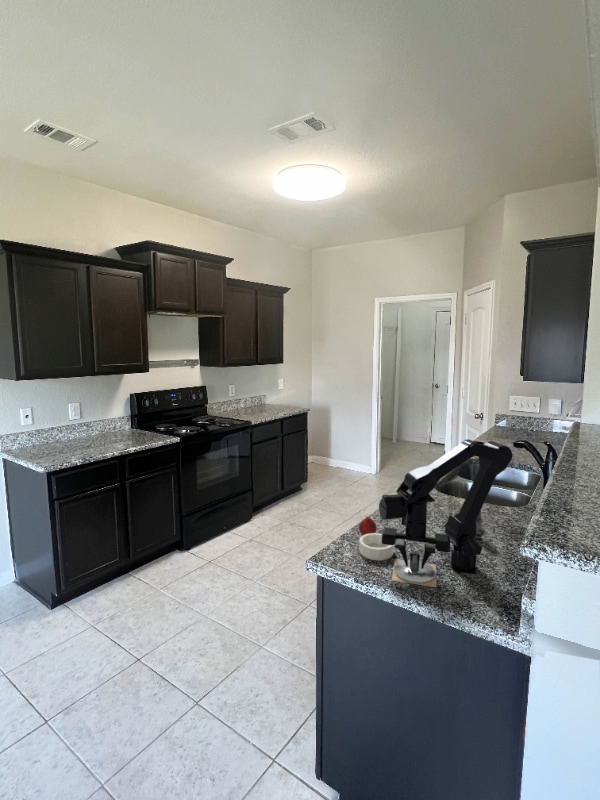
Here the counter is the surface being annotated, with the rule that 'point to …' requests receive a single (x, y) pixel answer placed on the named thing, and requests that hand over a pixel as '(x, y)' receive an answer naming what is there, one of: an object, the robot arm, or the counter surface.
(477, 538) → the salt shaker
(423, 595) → the counter surface
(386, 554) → the bowl
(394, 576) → the mat
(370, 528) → the onion
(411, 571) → the lid
